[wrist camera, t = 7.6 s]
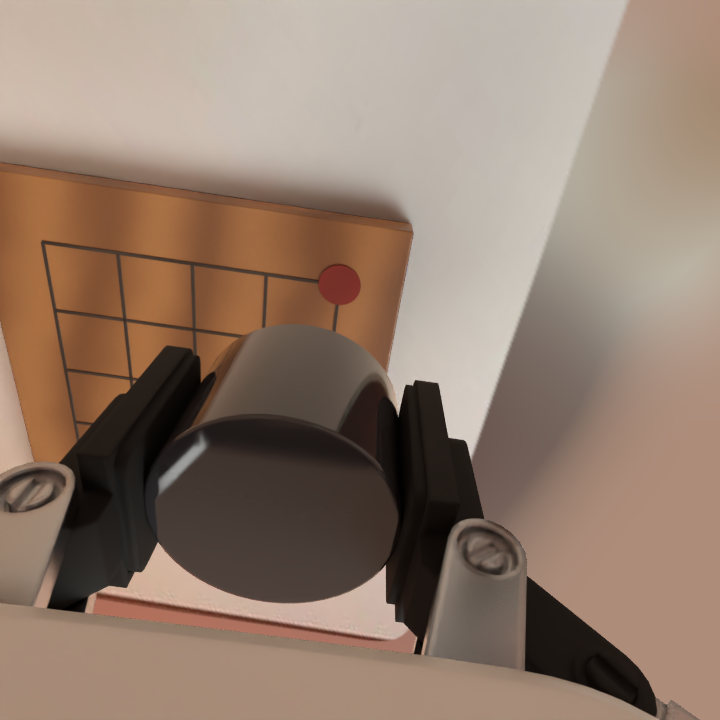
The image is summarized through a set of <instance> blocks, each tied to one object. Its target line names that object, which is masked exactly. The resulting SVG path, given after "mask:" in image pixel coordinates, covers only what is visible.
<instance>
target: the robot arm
mask: <svg viewBox="0 0 720 720" xmlns="http://www.w3.org/2000/svg"><path fill="white" fill-rule="evenodd" d="M200 384H201V361H200V357H199V356H198V355H193V351H192V349H191V348H184V347H177V346H170V345H167V346H165V347H164V348H163V350H162V351H161V352H160V353H159V354H158V356H157V357H156V358H155V359H154V360H153V362H152V363H151V364H150V365H149V366H148V368H147V369H146V370H145V371H144V372H143V374H142V375H141V376H140V377H139V378H138V380H137V381H136V382H135V383H134V384H133V386H132V387H131V388H130V389H129V390H128V392H127V393H126V394H125V393H122V394H119V395H118V396H116V397H115V398H114V399H113V401H112V402H111V403H110V404H109V405H108V406H107V408H106V409H105V410H104V411H103V412H102V413H101V415H100V416H99V417H98V418H97V419H96V420H95V422H94V423H93V424H92V425H91V426H90V427H89V428H88V430H87V431H86V432H85V433H84V434H83V435H82V437H81V438H80V439H79V440H78V441H77V442H76V444H75V445H74V446H73V447H72V448H71V449H70V451H69V452H68V453H67V454H66V455H65V456H64V458H63V459H62V460H61V461H60V462H59V463H56V462H44V461H41V462H34V463H27V464H24V465H21V466H17V467H14V468H12V469H10V470H8V471H6V472H4V473H2V474H0V720H699V719H698V718H696V717H695V716H693V715H692V714H691V713H689V712H688V711H686V710H685V709H684V708H682V707H681V706H679V705H678V704H677V703H675V702H674V701H672V700H670V702H669V703H668V704H667V705H666V704H664V703H663V702H661V701H660V700H659V699H657V698H656V697H655V695H654V693H653V691H652V689H651V686H650V684H649V682H648V680H647V679H646V678H645V676H644V675H643V673H642V672H641V670H640V669H639V668H638V667H637V666H636V665H635V664H634V663H633V662H632V661H631V660H630V659H629V658H628V657H627V656H626V655H625V654H623V653H622V652H621V651H620V650H619V649H617V648H616V647H615V646H613V645H612V644H611V643H610V642H609V641H607V640H606V639H605V638H603V637H602V636H601V635H600V634H599V633H597V632H596V631H595V630H593V629H592V628H591V627H590V626H589V625H587V624H586V623H585V622H583V621H582V620H581V619H580V618H579V617H577V616H576V615H575V614H574V613H573V612H571V611H570V610H569V609H568V608H566V607H565V606H564V605H563V604H561V603H560V602H559V601H558V600H556V599H555V598H554V597H553V596H551V595H550V594H549V593H548V592H546V591H545V590H544V589H543V588H541V587H540V586H539V585H538V584H537V583H535V582H534V581H533V580H532V579H530V578H529V577H528V576H527V559H526V553H525V551H524V549H523V547H522V545H521V544H520V542H519V541H518V539H516V537H515V536H514V535H513V534H512V533H511V532H509V531H508V530H506V529H505V528H504V527H502V526H501V525H498V524H496V523H494V522H492V521H489V520H484V516H483V512H482V507H481V503H480V499H479V495H478V491H477V486H476V481H475V478H474V473H473V468H472V464H471V460H470V455H469V451H468V447H467V444H466V442H465V441H464V440H459V439H452V438H448V434H447V428H446V423H445V417H444V412H443V406H442V401H441V395H440V390H439V385H438V383H432V382H425V381H418V380H415V382H414V384H413V386H412V385H406V386H405V389H404V394H403V398H402V403H401V407H400V412H399V417H398V426H399V449H400V471H401V493H402V519H403V521H402V527H401V532H400V536H399V540H398V543H397V547H396V549H395V551H394V553H393V555H392V556H391V558H390V560H389V561H388V562H387V564H386V602H387V604H395V622H402V623H404V624H405V625H406V626H407V627H408V628H409V629H410V630H411V631H412V632H413V633H414V634H415V636H416V639H415V643H414V647H413V652H412V654H409V653H401V652H393V651H385V650H378V649H370V648H362V647H355V646H347V645H339V644H332V643H323V642H316V641H308V640H301V639H293V638H284V637H277V636H269V635H260V634H253V633H244V632H237V631H228V630H221V629H213V628H203V627H196V626H188V625H180V624H172V623H163V622H156V621H147V620H139V619H131V618H122V617H114V616H105V615H97V614H92V613H93V608H94V605H95V601H96V592H98V591H99V590H101V589H103V588H105V587H107V586H116V587H124V588H127V586H128V584H129V582H130V580H131V578H132V576H133V574H134V572H142V571H143V570H144V569H145V567H146V565H147V563H148V561H149V559H150V557H151V555H152V553H153V551H154V549H155V547H156V545H157V543H158V541H157V539H156V538H155V536H154V534H153V532H152V530H151V528H150V526H149V523H148V520H147V517H146V513H145V506H144V486H145V481H146V476H147V474H148V471H149V469H150V466H151V464H152V463H153V461H154V459H155V458H156V456H157V454H158V453H159V451H160V449H161V448H162V446H163V445H164V443H165V441H166V440H167V438H168V436H169V435H170V433H171V431H172V430H173V428H174V427H175V425H176V423H177V422H178V420H179V418H180V417H181V415H182V413H183V412H184V410H185V409H186V407H187V405H188V404H189V402H190V400H191V399H192V397H193V395H194V394H195V392H196V391H197V389H198V387H199V386H200Z"/></svg>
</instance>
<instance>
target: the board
mask: <svg viewBox="0 0 720 720" xmlns="http://www.w3.org/2000/svg"><path fill="white" fill-rule="evenodd" d="M412 239H413V228H412V224H409V223H402V222H395V221H388V220H382V219H375V218H368V217H362V216H355V215H348V214H342V213H335V212H328V211H321V210H315V209H308V208H301V207H295V206H288V205H281V204H274V203H268V202H261V201H254V200H248V199H241V198H234V197H228V196H221V195H214V194H207V193H201V192H194V191H187V190H181V189H174V188H167V187H160V186H154V185H147V184H140V183H134V182H127V181H120V180H114V179H107V178H100V177H93V176H87V175H80V174H73V173H67V172H60V171H53V170H46V169H40V168H33V167H26V166H20V165H13V164H6V163H0V322H1V326H2V330H3V334H4V339H5V343H6V347H7V351H8V355H9V359H10V363H11V367H12V372H13V376H14V380H15V384H16V388H17V392H18V396H19V400H20V405H21V409H22V413H23V417H24V421H25V425H26V429H27V433H28V438H29V442H30V446H31V450H32V454H33V458H34V462H41V461H44V462H56V463H59V462H60V461H61V460H62V459H63V458H64V456H65V455H66V454H67V453H68V452H69V451H70V449H71V448H72V447H73V446H74V445H75V444H76V442H77V441H78V440H79V439H80V438H81V437H82V435H83V434H84V433H85V432H86V431H87V430H88V428H89V427H90V426H91V425H92V424H93V423H94V422H95V420H96V419H97V418H98V417H99V416H100V415H101V413H102V412H103V411H104V410H105V409H106V408H107V406H108V405H109V404H110V403H111V402H112V401H113V399H114V398H115V397H116V396H118V395H119V394H122V393H125V394H126V393H127V392H128V390H129V389H130V388H131V387H132V386H133V384H134V383H135V382H136V381H137V380H138V378H139V377H140V376H141V375H142V374H143V372H144V371H145V370H146V369H147V368H148V366H149V365H150V364H151V363H152V362H153V360H154V359H155V358H156V357H157V356H158V354H159V353H160V352H161V351H162V350H163V348H164V347H165V346H167V345H170V346H177V347H184V348H191V349H192V351H193V355H198V356H199V357H200V361H201V382H202V381H203V379H204V377H205V376H206V374H207V373H208V371H209V369H210V368H211V366H212V364H213V363H214V361H215V359H216V358H217V357H218V356H219V355H220V353H221V352H222V351H223V350H224V349H225V348H226V347H228V346H229V345H230V344H231V343H232V342H234V341H235V340H237V339H239V338H240V337H242V336H243V335H246V334H248V333H250V332H252V331H255V330H258V329H261V328H265V327H269V326H275V325H281V324H302V325H311V326H316V327H321V328H325V329H328V330H331V331H334V332H337V333H339V334H341V335H343V336H345V337H347V338H349V339H351V340H352V341H354V342H356V343H357V344H359V345H360V346H361V347H363V348H364V349H365V350H366V351H368V352H369V353H370V354H371V355H372V356H373V357H374V358H375V359H376V360H377V361H378V362H379V364H380V365H381V366H382V368H383V369H384V370H385V372H386V373H387V370H388V365H389V359H390V354H391V349H392V344H393V338H394V333H395V328H396V323H397V317H398V312H399V307H400V302H401V296H402V291H403V286H404V281H405V275H406V270H407V265H408V260H409V254H410V249H411V244H412Z"/></svg>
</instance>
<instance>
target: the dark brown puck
mask: <svg viewBox="0 0 720 720" xmlns="http://www.w3.org/2000/svg"><path fill="white" fill-rule="evenodd" d="M144 506H145V513H146V517H147V520H148V523H149V526H150V528H151V530H152V532H153V534H154V536H155V538H156V539H157V541H158V542H159V544H160V545H161V546H162V548H163V549H164V550H165V552H166V553H167V554H168V555H169V556H170V557H171V558H172V559H173V560H174V561H175V562H176V563H177V564H179V565H180V566H181V567H182V568H183V569H185V570H186V571H187V572H189V573H190V574H192V575H193V576H195V577H196V578H198V579H200V580H201V581H203V582H205V583H207V584H209V585H211V586H213V587H215V588H217V589H220V590H222V591H225V592H227V593H230V594H233V595H236V596H240V597H244V598H248V599H252V600H257V601H263V602H272V603H306V602H314V601H320V600H325V599H329V598H332V597H336V596H339V595H342V594H344V593H347V592H349V591H352V590H354V589H355V588H357V587H359V586H361V585H363V584H364V583H366V582H367V581H369V580H370V579H371V578H373V577H374V576H375V575H376V574H377V573H378V572H379V571H381V570H382V569H383V567H384V566H385V565H386V564H387V562H388V561H389V560H390V558H391V556H392V555H393V553H394V551H395V549H396V547H397V543H398V540H399V536H400V532H401V527H402V521H403V519H402V493H401V471H400V449H399V426H398V405H397V399H396V394H395V391H394V388H393V385H392V383H391V381H390V379H389V377H388V375H387V373H386V372H385V370H384V369H383V368H382V366H381V365H380V364H379V362H378V361H377V360H376V359H375V358H374V357H373V356H372V355H371V354H370V353H369V352H368V351H366V350H365V349H364V348H363V347H361V346H360V345H359V344H357V343H356V342H354V341H352V340H351V339H349V338H347V337H345V336H343V335H341V334H339V333H337V332H334V331H331V330H328V329H325V328H321V327H316V326H311V325H302V324H281V325H275V326H269V327H265V328H261V329H258V330H255V331H252V332H250V333H248V334H246V335H243V336H242V337H240V338H239V339H237V340H235V341H234V342H232V343H231V344H230V345H229V346H228V347H226V348H225V349H224V350H223V351H222V352H221V353H220V355H219V356H218V357H217V358H216V359H215V361H214V363H213V364H212V366H211V368H210V369H209V371H208V373H207V374H206V376H205V377H204V379H203V381H202V382H201V384H200V386H199V387H198V389H197V391H196V392H195V394H194V395H193V397H192V399H191V400H190V402H189V404H188V405H187V407H186V409H185V410H184V412H183V413H182V415H181V417H180V418H179V420H178V422H177V423H176V425H175V427H174V428H173V430H172V431H171V433H170V435H169V436H168V438H167V440H166V441H165V443H164V445H163V446H162V448H161V449H160V451H159V453H158V454H157V456H156V458H155V459H154V461H153V463H152V464H151V466H150V469H149V471H148V474H147V476H146V481H145V486H144Z"/></svg>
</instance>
